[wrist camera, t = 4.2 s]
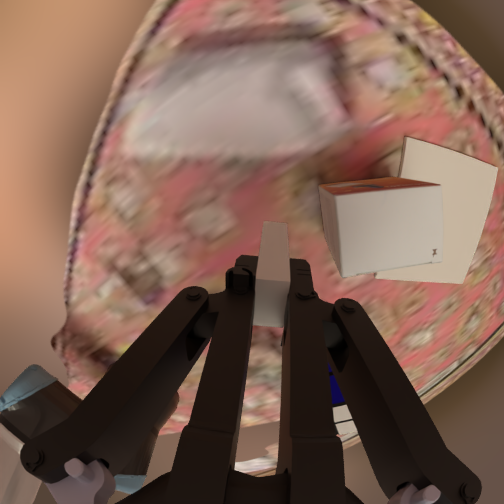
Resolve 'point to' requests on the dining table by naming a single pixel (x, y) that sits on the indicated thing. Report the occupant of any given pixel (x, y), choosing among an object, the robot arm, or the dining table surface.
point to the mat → (449, 207)
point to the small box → (382, 224)
